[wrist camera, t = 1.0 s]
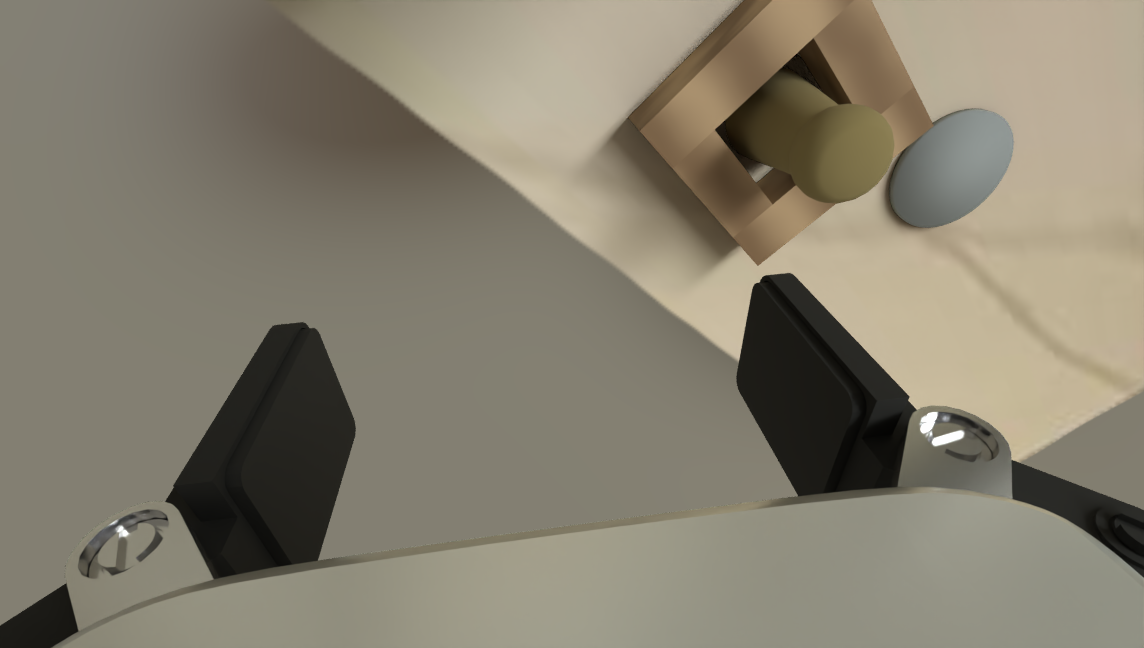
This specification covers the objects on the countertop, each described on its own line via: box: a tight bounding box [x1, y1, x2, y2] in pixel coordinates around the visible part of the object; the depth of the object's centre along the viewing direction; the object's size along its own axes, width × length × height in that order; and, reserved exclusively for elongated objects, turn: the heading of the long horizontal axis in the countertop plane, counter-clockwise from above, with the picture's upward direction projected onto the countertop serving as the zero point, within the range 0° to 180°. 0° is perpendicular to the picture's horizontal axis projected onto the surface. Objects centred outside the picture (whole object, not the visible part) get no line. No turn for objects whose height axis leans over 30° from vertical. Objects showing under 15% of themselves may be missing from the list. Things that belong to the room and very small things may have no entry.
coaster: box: [889, 109, 1014, 228], centre depth 40 cm, size 9×9×1 cm
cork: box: [726, 68, 894, 204], centre depth 31 cm, size 6×6×11 cm
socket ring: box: [628, 0, 934, 266], centre depth 34 cm, size 14×14×4 cm
